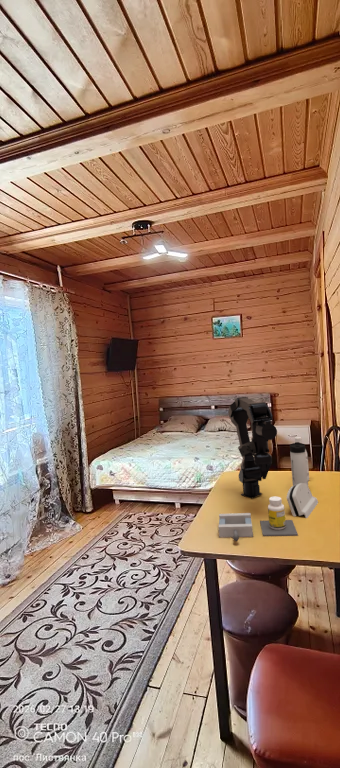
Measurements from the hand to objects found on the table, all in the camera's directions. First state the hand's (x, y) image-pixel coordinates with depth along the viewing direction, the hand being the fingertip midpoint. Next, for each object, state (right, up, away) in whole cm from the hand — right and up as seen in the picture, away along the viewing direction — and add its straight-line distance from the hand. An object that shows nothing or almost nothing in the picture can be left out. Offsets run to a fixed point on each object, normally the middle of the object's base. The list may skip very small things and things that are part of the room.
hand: (262, 475), depth 144 cm
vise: (-14, -15, -18) cm, 27 cm away
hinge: (+14, -12, -2) cm, 19 cm away
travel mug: (+21, -11, +18) cm, 29 cm away
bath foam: (+25, -10, +30) cm, 40 cm away
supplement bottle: (+1, -13, -17) cm, 22 cm away
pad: (+1, -14, -17) cm, 22 cm away
